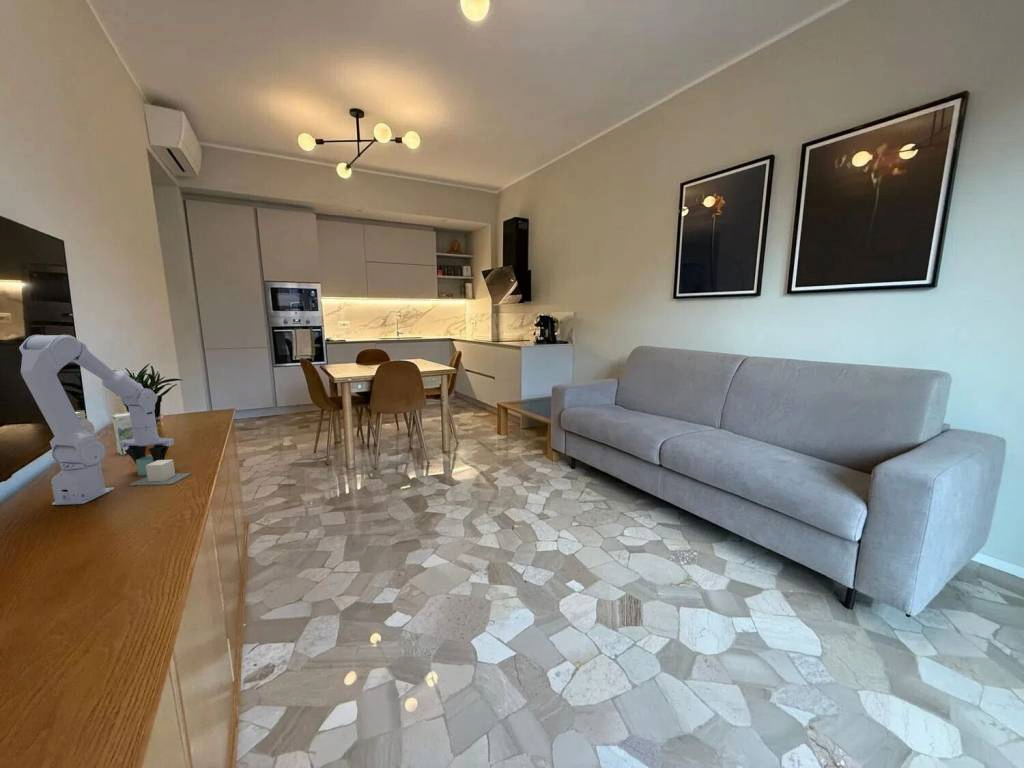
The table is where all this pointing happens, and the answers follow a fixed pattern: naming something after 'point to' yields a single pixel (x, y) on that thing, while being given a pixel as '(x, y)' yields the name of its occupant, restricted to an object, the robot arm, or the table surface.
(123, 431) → the syrup box
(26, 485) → the table surface
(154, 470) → the cream block
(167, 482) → the slate mat
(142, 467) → the teal block
